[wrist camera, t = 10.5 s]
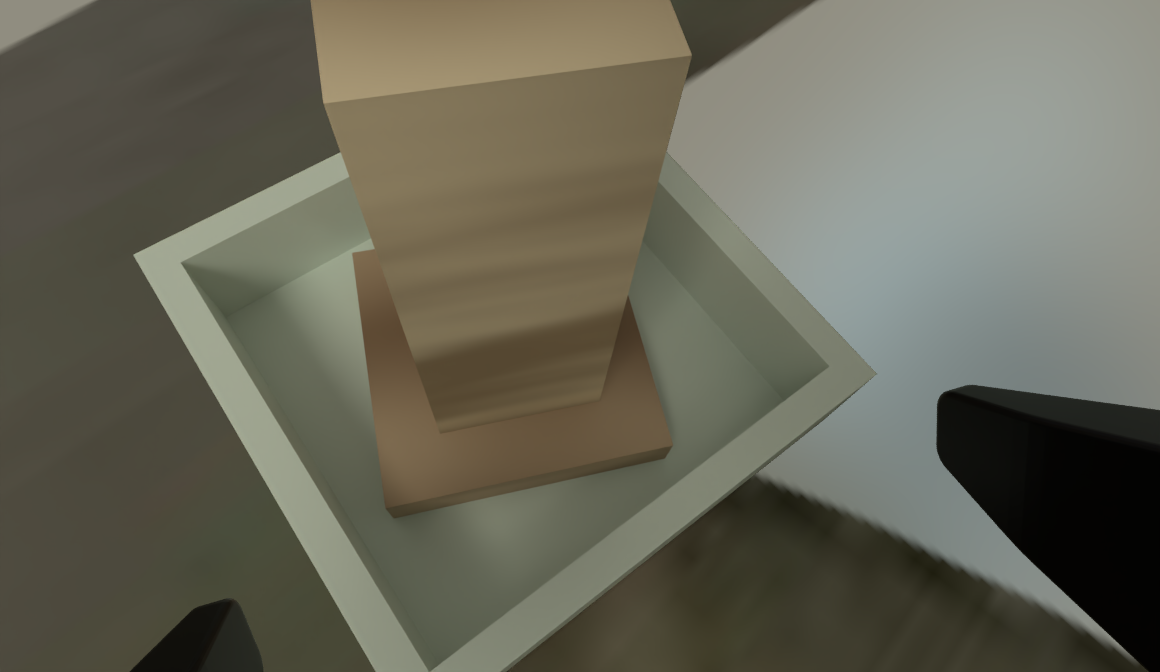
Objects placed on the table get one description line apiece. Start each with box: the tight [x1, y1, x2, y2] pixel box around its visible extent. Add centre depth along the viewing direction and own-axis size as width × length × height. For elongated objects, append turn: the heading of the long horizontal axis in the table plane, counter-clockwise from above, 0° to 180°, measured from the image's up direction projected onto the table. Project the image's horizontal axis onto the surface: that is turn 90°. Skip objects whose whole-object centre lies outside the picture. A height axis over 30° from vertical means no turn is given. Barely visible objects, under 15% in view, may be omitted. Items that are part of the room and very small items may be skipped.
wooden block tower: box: [311, 0, 692, 518], centre depth 14 cm, size 7×7×12 cm
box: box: [134, 152, 876, 672], centre depth 19 cm, size 13×13×4 cm
